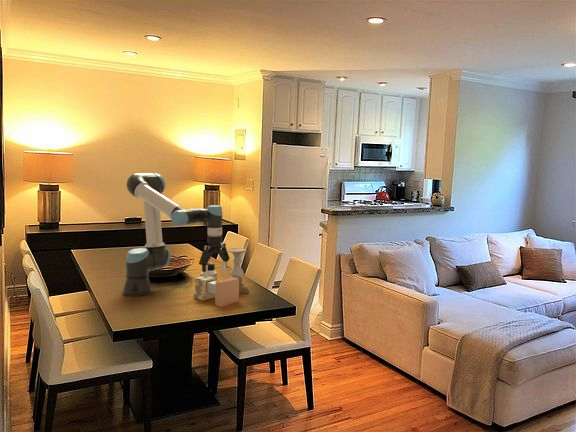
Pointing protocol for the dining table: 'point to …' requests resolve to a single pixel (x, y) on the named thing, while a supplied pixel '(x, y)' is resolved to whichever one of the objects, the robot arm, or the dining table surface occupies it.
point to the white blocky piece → (202, 288)
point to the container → (211, 271)
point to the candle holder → (238, 268)
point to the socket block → (227, 291)
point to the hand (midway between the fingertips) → (214, 275)
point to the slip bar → (211, 286)
